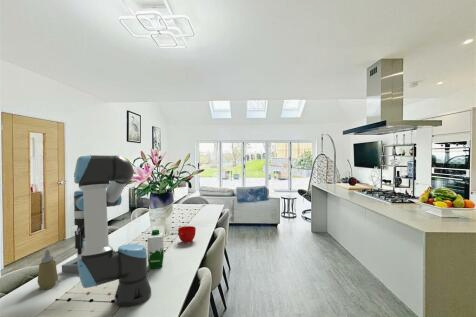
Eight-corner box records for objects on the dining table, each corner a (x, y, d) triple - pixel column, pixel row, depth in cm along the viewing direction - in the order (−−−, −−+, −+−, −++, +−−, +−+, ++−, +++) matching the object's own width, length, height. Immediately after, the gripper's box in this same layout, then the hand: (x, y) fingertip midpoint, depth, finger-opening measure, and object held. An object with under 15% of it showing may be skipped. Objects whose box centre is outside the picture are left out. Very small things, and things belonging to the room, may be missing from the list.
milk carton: (163, 261, 152) (163, 228, 152) (163, 268, 143) (163, 233, 144) (148, 263, 150) (148, 230, 150) (147, 270, 141) (146, 234, 141)
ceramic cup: (172, 245, 180) (172, 232, 180) (183, 238, 197) (182, 225, 197) (189, 247, 177) (188, 232, 177) (198, 239, 194) (198, 226, 194)
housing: (88, 273, 138) (88, 266, 138) (61, 272, 140) (61, 265, 140) (114, 256, 162) (114, 250, 162) (92, 255, 164) (92, 249, 164)
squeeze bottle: (55, 281, 130) (54, 246, 130) (60, 285, 125) (59, 249, 125) (35, 287, 124) (34, 251, 124) (39, 292, 119) (39, 254, 119)
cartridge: (85, 269, 143) (85, 240, 143) (75, 270, 142) (75, 240, 142) (89, 266, 148) (89, 237, 148) (80, 266, 147) (79, 237, 147)
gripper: (82, 220, 137) (83, 263, 137) (95, 213, 155) (95, 251, 155) (67, 221, 135) (67, 264, 135) (81, 214, 153) (82, 252, 153)
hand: (82, 257), depth 145 cm, fingers closed on cartridge, 5 cm apart
